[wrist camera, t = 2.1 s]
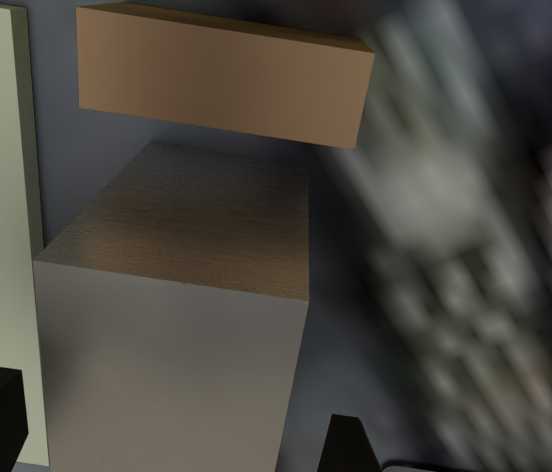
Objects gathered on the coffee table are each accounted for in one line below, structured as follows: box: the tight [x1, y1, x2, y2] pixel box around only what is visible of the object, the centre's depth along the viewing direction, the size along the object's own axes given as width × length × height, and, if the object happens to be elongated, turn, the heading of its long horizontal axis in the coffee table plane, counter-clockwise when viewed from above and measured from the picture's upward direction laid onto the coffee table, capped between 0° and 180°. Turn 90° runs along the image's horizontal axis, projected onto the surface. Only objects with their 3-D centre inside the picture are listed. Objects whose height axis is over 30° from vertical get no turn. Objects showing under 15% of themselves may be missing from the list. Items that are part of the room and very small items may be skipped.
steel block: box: [33, 141, 309, 472], centre depth 14 cm, size 4×10×7 cm, turn 172°
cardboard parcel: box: [76, 2, 375, 472], centre depth 15 cm, size 6×17×3 cm, turn 172°
